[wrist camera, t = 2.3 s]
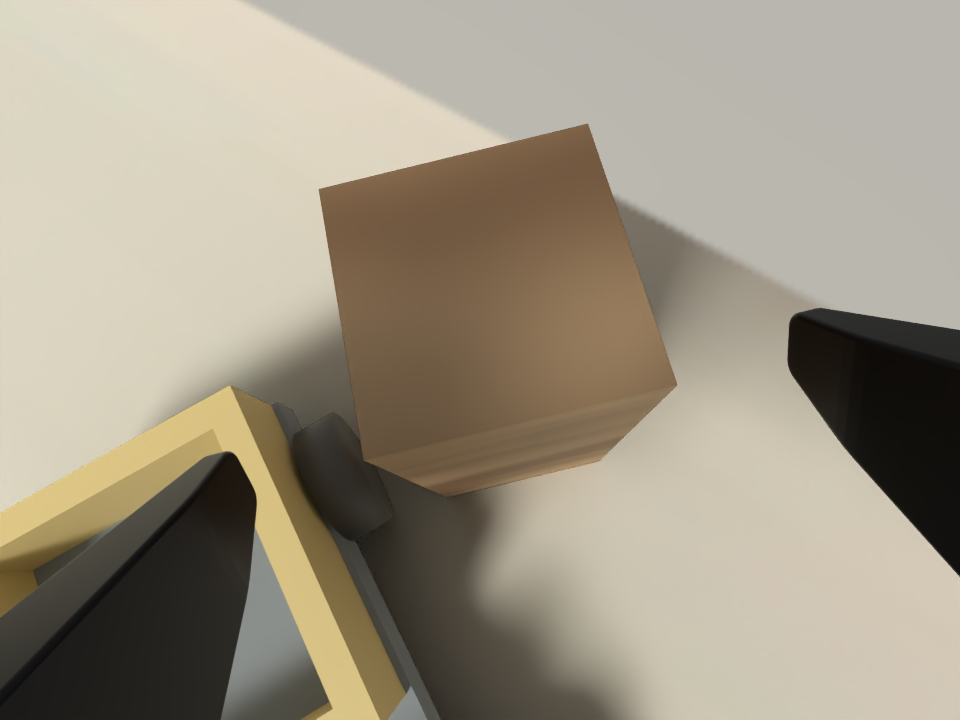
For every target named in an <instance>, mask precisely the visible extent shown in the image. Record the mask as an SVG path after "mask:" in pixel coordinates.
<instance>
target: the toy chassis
mask: <svg viewBox="0 0 960 720" xmlns="http://www.w3.org/2000/svg"><path fill="white" fill-rule="evenodd" d="M224 451H230V452H233V453H234V454H235V455H236V456H237V457H238V459H239V461H240V463H241V465H242V467H243V468H244V470H245V472H246V474H247V476H248V478H249V480H250V482H251V484H252V486H253V487H254V490H255V493H256V497H257V510H256V521H255V531H254V542H253V552H252V562H251V573H250V581H249V589H248V594H247V600H246V605H245V609H244V614H243V619H242V623H241V628H240V633H239V637H238V642H237V647H236V651H235V656H234V661H233V665H232V670H231V675H230V679H229V684H228V689H227V693H226V698H225V703H224V707H223V712H222V717H221V720H441V718H440V716H439V714H438V712H437V710H436V708H435V706H434V704H433V702H432V700H431V698H430V695H429V693H428V691H427V689H426V687H425V685H424V683H423V681H422V679H421V677H420V675H419V672H418V670H417V668H416V666H415V664H414V662H413V660H412V658H411V656H410V654H409V652H408V649H407V647H406V645H405V643H404V641H403V639H402V637H401V635H400V633H399V631H398V629H397V626H396V624H395V622H394V620H393V618H392V616H391V614H390V612H389V610H388V608H387V606H386V603H385V601H384V599H383V597H382V595H381V593H380V591H379V589H378V587H377V585H376V583H375V581H374V578H373V576H372V574H371V572H370V570H369V568H368V566H367V564H366V562H365V560H364V558H363V555H362V553H361V551H360V549H359V547H358V545H357V543H356V541H355V540H357V539H359V538H360V537H362V536H364V535H365V534H367V533H369V532H370V531H372V530H374V529H375V528H377V527H379V526H381V525H382V524H384V523H386V522H387V521H389V520H391V519H392V516H393V513H392V507H391V504H390V500H389V498H388V495H387V492H386V490H385V487H384V485H383V483H382V481H381V479H380V476H379V474H378V472H377V470H376V469H375V467H374V465H373V464H371V463H369V462H366V461H364V459H363V453H362V447H361V443H360V441H359V440H358V438H357V437H356V435H355V434H354V433H353V431H352V430H351V429H350V427H349V426H348V425H347V424H346V422H345V421H344V420H343V419H342V418H341V417H340V416H338V415H337V414H335V413H331V414H329V415H327V416H325V417H323V418H322V419H320V420H318V421H316V422H315V423H313V424H311V425H309V426H308V427H306V428H304V429H302V428H301V426H300V424H299V422H298V420H297V418H296V415H295V413H294V411H293V410H291V409H289V408H287V407H285V406H283V405H281V404H279V403H276V404H274V405H272V406H271V405H269V404H267V403H265V402H263V401H261V400H259V399H257V398H255V397H253V396H251V395H249V394H247V393H245V392H243V391H241V390H239V389H236V388H234V387H232V386H230V385H229V386H228V387H226V388H224V389H222V390H220V391H219V392H217V393H215V394H213V395H211V396H209V397H208V398H206V399H204V400H202V401H200V402H199V403H197V404H195V405H193V406H191V407H190V408H188V409H186V410H184V411H182V412H181V413H179V414H177V415H175V416H173V417H172V418H170V419H168V420H166V421H164V422H163V423H161V424H159V425H157V426H155V427H154V428H152V429H150V430H148V431H146V432H145V433H143V434H141V435H139V436H137V437H136V438H134V439H132V440H130V441H128V442H127V443H125V444H123V445H121V446H119V447H118V448H116V449H114V450H112V451H110V452H109V453H107V454H105V455H103V456H101V457H100V458H98V459H96V460H94V461H92V462H91V463H89V464H87V465H85V466H83V467H82V468H80V469H78V470H76V471H74V472H73V473H71V474H69V475H67V476H65V477H64V478H62V479H60V480H58V481H56V482H55V483H53V484H51V485H49V486H47V487H46V488H44V489H42V490H40V491H38V492H37V493H35V494H33V495H31V496H29V497H28V498H26V499H24V500H22V501H20V502H18V503H17V504H15V505H13V506H11V507H9V508H8V509H6V510H4V511H2V512H0V617H1V616H2V615H3V614H5V613H6V612H7V611H9V610H10V609H11V608H12V607H14V606H15V605H16V604H17V603H19V602H20V601H21V600H23V599H24V598H25V597H26V596H28V595H29V594H30V593H31V592H33V591H34V590H35V589H37V588H38V587H39V586H40V585H42V584H43V583H44V582H45V581H47V580H48V579H49V578H51V577H52V576H53V575H54V574H56V573H57V572H58V571H59V570H61V569H62V568H63V567H65V566H66V565H67V564H68V563H70V562H71V561H72V560H73V559H75V558H76V557H77V556H79V555H80V554H81V553H82V552H84V551H85V550H86V549H87V548H89V547H90V546H91V545H93V544H94V543H95V542H96V541H98V540H99V539H100V538H101V537H103V536H104V535H105V534H107V533H108V532H109V531H110V530H112V529H113V528H114V527H115V526H117V525H118V524H119V523H121V522H122V521H123V520H124V519H126V518H127V517H128V516H129V515H131V514H132V513H133V512H135V511H136V510H137V509H138V508H140V507H141V506H142V505H143V504H145V503H146V502H147V501H149V500H150V499H151V498H152V497H154V496H155V495H156V494H157V493H159V492H160V491H161V490H162V489H164V488H165V487H166V486H168V485H169V484H170V483H171V482H173V481H174V480H175V479H176V478H178V477H179V476H180V475H182V474H183V473H184V472H185V471H187V470H188V469H189V468H190V467H192V466H193V465H194V464H196V463H197V462H198V461H199V460H201V459H202V458H203V457H205V456H208V455H212V454H216V453H220V452H224Z"/></svg>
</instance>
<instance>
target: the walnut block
mask: <svg viewBox="0 0 960 720" xmlns="http://www.w3.org/2000/svg"><path fill="white" fill-rule="evenodd" d="M319 194H320V200H321V206H322V212H323V218H324V224H325V230H326V236H327V242H328V248H329V254H330V260H331V266H332V272H333V278H334V284H335V290H336V296H337V302H338V308H339V314H340V321H341V327H342V333H343V339H344V345H345V351H346V357H347V363H348V369H349V375H350V381H351V387H352V393H353V399H354V405H355V411H356V417H357V423H358V429H359V435H360V441H361V447H362V453H363V459H364V461H366V462H369V463H371V464H373V465H375V466H378V467H380V468H382V469H384V470H386V471H389V472H391V473H393V474H395V475H398V476H400V477H402V478H404V479H407V480H409V481H411V482H413V483H416V484H418V485H420V486H422V487H425V488H427V489H429V490H431V491H434V492H436V493H438V494H440V495H443V496H445V497H451V496H456V495H460V494H464V493H468V492H472V491H477V490H481V489H485V488H489V487H493V486H497V485H502V484H506V483H510V482H514V481H518V480H523V479H527V478H531V477H535V476H539V475H543V474H548V473H552V472H556V471H560V470H564V469H569V468H573V467H577V466H581V465H585V464H589V463H594V462H598V461H600V460H601V459H602V458H603V457H604V456H605V455H606V454H607V453H608V452H609V451H610V450H611V449H612V448H613V447H614V446H615V445H616V444H617V443H618V442H619V441H620V440H621V439H622V438H623V437H624V436H625V435H626V434H627V433H628V432H630V431H631V430H632V429H633V428H634V427H635V426H636V425H637V424H638V423H639V422H640V421H641V420H642V419H643V418H644V417H645V416H646V415H647V414H648V413H649V412H650V411H651V410H652V409H653V408H654V407H655V406H656V405H657V404H658V403H659V402H660V401H661V400H662V399H663V398H665V397H666V396H667V395H668V394H669V393H670V392H671V391H672V390H673V389H674V388H675V387H676V386H677V383H676V380H675V377H674V374H673V371H672V368H671V365H670V362H669V359H668V356H667V353H666V351H665V348H664V345H663V342H662V339H661V336H660V333H659V330H658V327H657V324H656V321H655V318H654V315H653V313H652V310H651V307H650V304H649V301H648V298H647V295H646V292H645V289H644V286H643V283H642V280H641V278H640V275H639V272H638V269H637V266H636V263H635V260H634V257H633V254H632V251H631V248H630V245H629V242H628V240H627V237H626V234H625V231H624V228H623V225H622V222H621V219H620V216H619V213H618V210H617V207H616V204H615V202H614V199H613V196H612V193H611V190H610V187H609V184H608V181H607V178H606V175H605V173H604V169H603V167H602V164H601V161H600V158H599V155H598V152H597V149H596V146H595V143H594V140H593V137H592V134H591V132H590V129H589V126H588V124H585V125H581V126H576V127H573V128H568V129H564V130H560V131H556V132H552V133H548V134H544V135H540V136H536V137H531V138H527V139H523V140H519V141H515V142H511V143H507V144H502V145H498V146H494V147H490V148H486V149H482V150H478V151H474V152H470V153H466V154H461V155H457V156H453V157H449V158H445V159H441V160H437V161H433V162H429V163H424V164H420V165H416V166H412V167H408V168H404V169H400V170H396V171H392V172H387V173H383V174H379V175H375V176H371V177H367V178H363V179H359V180H355V181H350V182H346V183H342V184H338V185H334V186H330V187H326V188H322V189H319Z"/></svg>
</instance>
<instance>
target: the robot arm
mask: <svg viewBox="0 0 960 720" xmlns="http://www.w3.org/2000/svg"><path fill="white" fill-rule="evenodd" d="M787 359H788V367H789V370H790V372H791V374H792V376H793V377H794V379H795V380H796V382H797V383H798V384H799V386H800V387H801V389H802V390H803V391H804V393H805V394H806V396H807V397H808V398H809V400H810V401H811V403H812V404H813V405H814V407H815V408H816V410H817V411H818V412H819V414H820V415H821V417H822V418H823V419H824V421H825V422H826V424H827V425H828V426H829V428H830V429H831V431H832V432H833V433H834V435H835V436H836V437H837V439H838V440H839V441H840V443H841V444H842V445H843V447H844V448H845V449H846V450H847V451H848V452H849V454H850V455H851V456H852V457H853V458H854V460H855V461H856V462H857V463H858V464H859V465H860V466H861V467H862V468H863V470H864V471H865V472H866V473H867V474H868V475H869V476H870V477H871V478H872V480H873V481H874V482H875V483H876V484H877V485H878V486H879V487H880V488H881V490H882V491H883V492H884V493H885V494H886V495H887V496H888V497H889V499H890V500H891V501H892V502H893V503H894V504H895V505H896V506H897V507H898V509H899V510H900V511H901V512H902V513H903V514H904V515H905V516H906V517H907V519H908V520H909V521H910V522H911V523H912V524H913V525H914V526H915V528H916V529H917V530H918V531H919V532H920V533H921V534H922V535H923V536H924V538H925V539H926V540H927V541H928V542H929V543H930V544H931V545H932V546H933V548H934V549H935V550H936V551H937V552H938V553H939V554H940V555H941V556H942V558H943V559H944V560H945V561H946V562H947V563H948V564H949V565H950V567H951V568H952V569H953V570H954V571H955V572H956V573H957V574H958V575H959V577H960V330H956V329H949V328H943V327H937V326H931V325H924V324H918V323H911V322H905V321H899V320H893V319H886V318H880V317H874V316H867V315H861V314H855V313H849V312H843V311H836V310H830V309H824V308H817V309H812V310H808V311H804V312H800V313H797V314H795V315H794V316H793V317H792V318H791V320H790V323H789V338H788V358H787ZM256 510H257V497H256V493H255V490H254V487H253V486H252V484H251V482H250V480H249V478H248V476H247V474H246V472H245V470H244V468H243V467H242V465H241V463H240V461H239V459H238V457H237V456H236V455H235V454H234V453H233V452H230V451H224V452H220V453H216V454H212V455H208V456H205V457H203V458H202V459H201V460H199V461H198V462H197V463H196V464H194V465H193V466H192V467H190V468H189V469H188V470H187V471H185V472H184V473H183V474H182V475H180V476H179V477H178V478H176V479H175V480H174V481H173V482H171V483H170V484H169V485H168V486H166V487H165V488H164V489H162V490H161V491H160V492H159V493H157V494H156V495H155V496H154V497H152V498H151V499H150V500H149V501H147V502H146V503H145V504H143V505H142V506H141V507H140V508H138V509H137V510H136V511H135V512H133V513H132V514H131V515H129V516H128V517H127V518H126V519H124V520H123V521H122V522H121V523H119V524H118V525H117V526H115V527H114V528H113V529H112V530H110V531H109V532H108V533H107V534H105V535H104V536H103V537H101V538H100V539H99V540H98V541H96V542H95V543H94V544H93V545H91V546H90V547H89V548H87V549H86V550H85V551H84V552H82V553H81V554H80V555H79V556H77V557H76V558H75V559H73V560H72V561H71V562H70V563H68V564H67V565H66V566H65V567H63V568H62V569H61V570H59V571H58V572H57V573H56V574H54V575H53V576H52V577H51V578H49V579H48V580H47V581H45V582H44V583H43V584H42V585H40V586H39V587H38V588H37V589H35V590H34V591H33V592H31V593H30V594H29V595H28V596H26V597H25V598H24V599H23V600H21V601H20V602H19V603H17V604H16V605H15V606H14V607H12V608H11V609H10V610H9V611H7V612H6V613H5V614H3V615H2V616H1V617H0V720H221V717H222V712H223V707H224V703H225V698H226V693H227V689H228V684H229V679H230V675H231V670H232V665H233V661H234V656H235V651H236V647H237V642H238V637H239V633H240V628H241V623H242V619H243V614H244V609H245V605H246V600H247V594H248V589H249V581H250V573H251V562H252V552H253V542H254V531H255V521H256Z"/></svg>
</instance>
